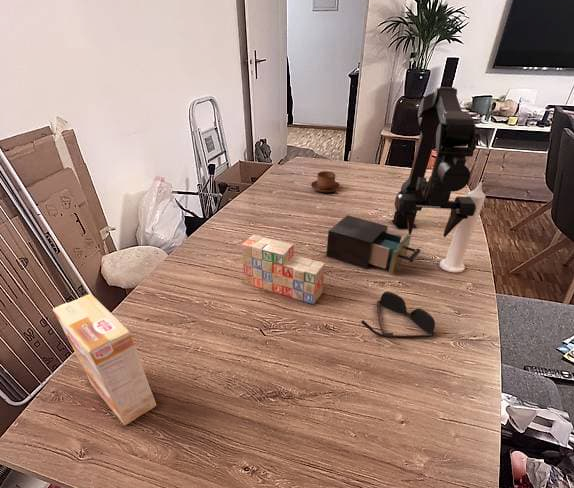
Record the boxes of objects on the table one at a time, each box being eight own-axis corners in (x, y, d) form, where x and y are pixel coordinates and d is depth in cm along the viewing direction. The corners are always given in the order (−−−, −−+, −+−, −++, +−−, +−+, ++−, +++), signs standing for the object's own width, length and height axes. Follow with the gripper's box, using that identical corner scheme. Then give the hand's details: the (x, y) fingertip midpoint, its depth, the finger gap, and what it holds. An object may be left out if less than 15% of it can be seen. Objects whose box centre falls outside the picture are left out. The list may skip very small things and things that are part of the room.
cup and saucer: (307, 185, 160) (307, 170, 156) (333, 183, 163) (334, 168, 159) (317, 196, 151) (317, 180, 147) (344, 193, 154) (345, 177, 150)
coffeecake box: (89, 383, 77) (50, 308, 64) (122, 365, 81) (91, 291, 68) (123, 427, 69) (87, 352, 56) (158, 405, 73) (131, 330, 60)
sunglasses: (344, 323, 92) (346, 307, 89) (381, 301, 99) (385, 285, 96) (399, 361, 83) (404, 345, 79) (436, 334, 90) (442, 318, 86)
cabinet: (382, 251, 119) (387, 225, 113) (366, 269, 111) (371, 242, 105) (344, 239, 124) (347, 215, 119) (326, 256, 116) (328, 230, 111)
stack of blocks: (322, 293, 102) (326, 252, 93) (313, 305, 98) (316, 264, 89) (255, 272, 109) (253, 233, 101) (243, 283, 105) (240, 243, 97)
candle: (465, 274, 109) (498, 188, 93) (440, 271, 110) (468, 185, 94) (462, 261, 115) (492, 178, 98) (438, 259, 116) (464, 176, 99)
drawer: (419, 260, 113) (425, 239, 109) (406, 277, 106) (412, 256, 101) (368, 245, 120) (371, 225, 115) (352, 260, 113) (355, 240, 108)
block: (376, 258, 112) (379, 245, 109) (382, 252, 114) (384, 239, 112) (390, 262, 110) (393, 249, 107) (396, 256, 113) (399, 243, 110)
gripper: (474, 167, 97) (455, 224, 107) (400, 163, 98) (389, 220, 108) (486, 182, 88) (464, 242, 99) (405, 178, 90) (393, 238, 100)
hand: (426, 235), depth 102 cm, fingers open, 9 cm apart
